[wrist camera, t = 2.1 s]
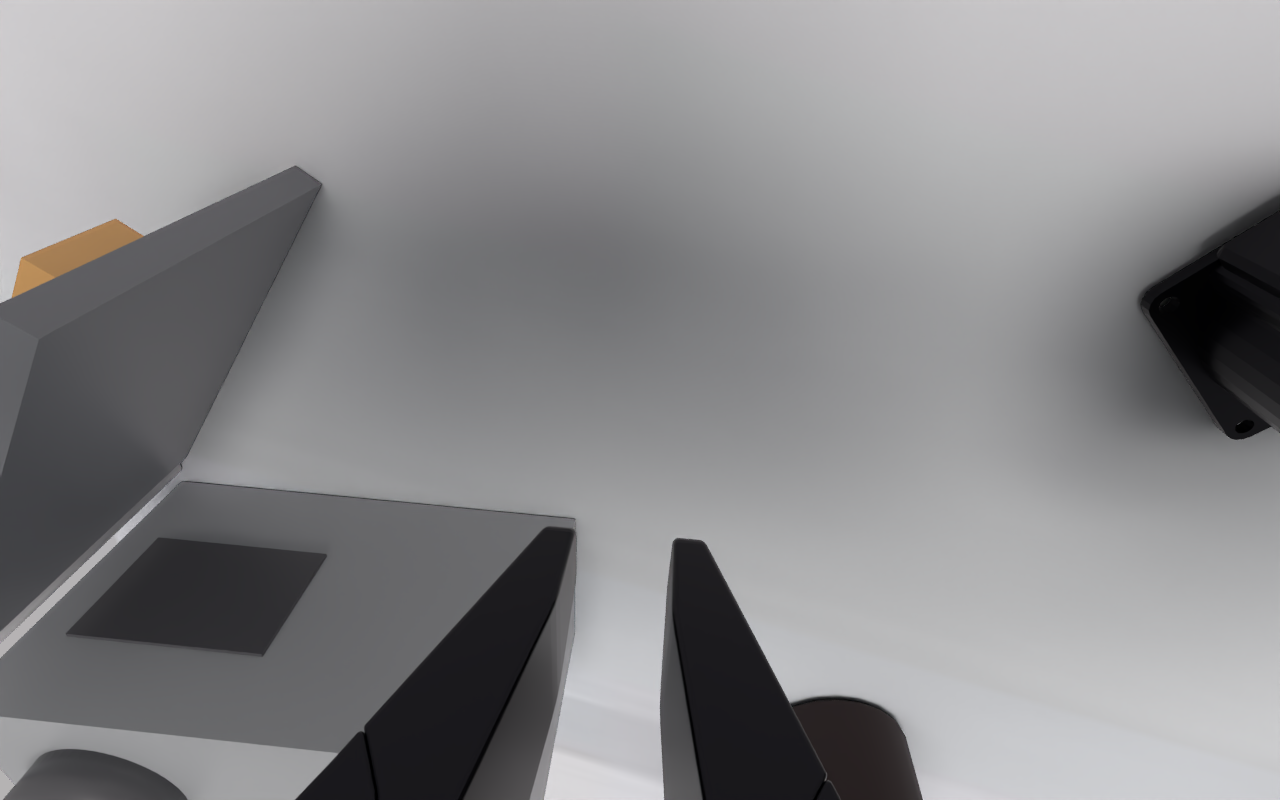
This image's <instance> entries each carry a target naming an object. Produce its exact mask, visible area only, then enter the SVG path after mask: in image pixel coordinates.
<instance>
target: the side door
mask: <svg viewBox="0 0 1280 800" xmlns="http://www.w3.org/2000/svg"><path fill="white" fill-rule="evenodd" d="M320 186H321V183H319V182H318V181H316V180H315V179H314V178H312V177H311V176H309V175H308V174H306V173H305V172H304V171H302V170H301V169H299V168H298V167H296V166H294V167H292V168H289V169H287V170H285V171H283V172H281V173H279V174H277V175H274V176H272V177H270V178H268V179H266V180H264V181H262V182H259V183H257V184H255V185H253V186H251V187H249V188H247V189H244V190H242V191H240V192H238V193H236V194H234V195H232V196H229V197H227V198H225V199H223V200H221V201H219V202H217V203H215V204H212V205H210V206H208V207H206V208H204V209H202V210H200V211H197V212H195V213H193V214H191V215H189V216H187V217H185V218H182V219H180V220H178V221H176V222H174V223H172V224H170V225H167V226H165V227H163V228H161V229H159V230H157V231H155V232H152V233H150V234H148V235H146V236H143V235H141V234H139V233H138V232H136V231H135V230H133V229H131V228H130V227H128V226H127V225H125V224H123V223H122V222H120V221H119V220H117V219H114V220H111V221H109V222H106V223H104V224H102V225H99V226H97V227H94V228H92V229H90V230H87V231H85V232H82V233H80V234H77V235H75V236H73V237H70V238H68V239H65V240H63V241H61V242H58V243H56V244H53V245H51V246H48V247H46V248H44V249H41V250H39V251H36V252H34V253H32V254H29V255H27V256H24V257H22V258H21V261H20V265H19V269H18V274H17V278H16V282H15V286H14V290H13V295H12V298H11V299H9V300H7V301H5V302H2V303H0V643H1V642H2V641H3V640H4V639H5V638H7V636H9V635H10V634H11V633H12V632H13V631H14V630H15V629H16V628H17V627H18V626H19V625H20V624H21V623H22V622H23V621H24V620H25V619H26V618H27V617H28V616H30V615H31V614H32V613H33V612H34V611H35V610H36V609H37V608H38V607H39V606H40V605H41V604H42V603H43V602H44V601H45V600H46V599H47V598H48V597H49V596H51V595H52V593H54V592H55V591H56V590H57V589H58V588H59V587H60V586H61V585H62V584H63V583H64V582H65V581H66V580H67V579H68V578H69V577H70V576H71V575H72V574H74V572H76V571H77V570H78V569H79V568H80V567H81V566H82V565H83V564H84V563H85V562H86V561H87V560H88V559H89V558H90V557H91V556H92V555H93V554H95V553H96V552H97V551H98V550H99V549H100V548H101V547H102V546H103V545H104V544H105V543H106V542H107V541H108V540H109V539H110V538H111V537H112V536H113V535H114V534H115V533H117V532H118V531H119V530H120V529H121V528H122V527H123V526H124V525H125V524H126V523H127V522H128V521H129V520H130V519H131V518H132V517H133V516H134V515H135V514H136V513H137V512H139V511H140V510H141V509H142V508H143V507H144V506H145V505H146V504H147V503H148V502H149V501H150V500H151V499H152V498H153V497H154V496H155V495H156V494H157V493H158V492H159V491H161V490H162V489H163V488H164V487H165V486H166V485H167V484H168V483H169V482H170V481H171V480H172V479H173V478H174V477H175V476H176V475H177V474H178V473H179V472H180V471H181V470H182V467H181V464H180V463H181V462H182V461H183V460H184V459H185V458H186V457H187V455H188V452H189V450H190V448H191V446H192V444H193V442H194V440H195V438H196V436H197V434H198V432H199V430H200V428H201V426H202V424H203V422H204V420H205V418H206V416H207V414H208V412H209V410H210V408H211V406H212V404H213V402H214V400H215V398H216V396H217V394H218V392H219V390H220V388H221V386H222V384H223V382H224V380H225V378H226V376H227V374H228V372H229V370H230V368H231V366H232V364H233V362H234V360H235V358H236V356H237V354H238V352H239V350H240V348H241V346H242V344H243V342H244V340H245V338H246V336H247V334H248V332H249V330H250V328H251V326H252V323H253V321H254V319H255V317H256V315H257V313H258V311H259V309H260V307H261V305H262V303H263V301H264V299H265V297H266V295H267V293H268V291H269V289H270V287H271V285H272V283H273V281H274V279H275V277H276V275H277V273H278V271H279V269H280V267H281V265H282V263H283V261H284V259H285V257H286V255H287V253H288V251H289V249H290V247H291V245H292V243H293V241H294V239H295V237H296V235H297V233H298V231H299V229H300V227H301V225H302V223H303V221H304V219H305V217H306V215H307V213H308V211H309V209H310V207H311V205H312V203H313V201H314V199H315V197H316V195H317V192H318V190H319V188H320Z"/></svg>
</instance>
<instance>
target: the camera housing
mask: <svg viewBox="0 0 1280 800" xmlns="http://www.w3.org/2000/svg"><path fill="white" fill-rule="evenodd" d="M547 526H557V527H567V528H573V529H574V530H575V519H569V518H559V517H548V516H538V515H527V514H517V513H506V512H496V511H486V510H475V509H465V508H454V507H444V506H434V505H423V504H413V503H402V502H392V501H382V500H371V499H361V498H350V497H340V496H329V495H319V494H309V493H298V492H288V491H277V490H267V489H257V488H246V487H236V486H225V485H215V484H205V483H194V482H184V481H181V482H180V483H179V484H178V485H177V486H176V487H175V488H174V489H173V490H172V491H171V492H170V493H169V494H168V495H167V496H166V497H165V498H164V499H163V500H162V501H161V502H160V503H159V504H158V505H157V506H156V507H155V508H154V509H153V510H152V511H151V512H150V513H149V514H148V515H147V516H146V517H145V518H144V519H143V520H141V521H140V522H139V523H138V524H137V525H136V526H135V527H134V528H133V529H132V530H131V531H130V532H129V533H128V534H127V535H126V536H125V537H124V538H123V539H122V540H121V541H120V542H119V543H118V544H117V545H116V546H115V547H114V548H113V549H112V550H111V551H110V552H109V553H108V554H107V555H106V556H105V557H104V558H103V559H102V560H101V561H99V563H98V564H96V565H95V566H94V567H93V568H92V569H91V570H90V571H89V572H88V573H87V574H86V575H85V576H84V577H83V578H82V579H81V580H80V581H79V582H78V583H77V584H76V585H75V586H74V587H73V588H72V589H71V590H70V591H69V592H68V593H67V594H66V595H65V596H64V597H63V598H62V599H61V600H60V601H58V602H57V603H56V604H55V606H53V607H52V608H51V609H50V610H49V611H48V612H47V613H46V614H45V615H44V616H43V617H42V618H41V619H40V620H39V621H38V622H37V623H36V624H35V625H34V626H33V627H32V628H31V629H30V630H29V631H28V632H27V633H26V634H25V635H24V636H23V637H22V638H21V639H20V640H19V641H18V642H16V643H15V645H13V646H12V647H11V648H10V649H9V650H8V651H7V652H6V653H5V654H4V655H3V656H2V657H1V658H0V769H1V771H3V773H4V774H5V775H6V776H7V777H8V778H9V779H10V780H11V781H12V782H13V784H14V785H15V786H14V787H13V788H12V790H11V791H10V792H9V793H8V795H7V796H6V797H5V798H4V799H3V800H295V799H296V798H297V797H298V796H299V795H300V794H301V793H302V792H303V791H304V790H305V788H306V787H307V786H308V785H309V784H310V783H311V782H312V781H313V780H314V779H315V778H316V777H317V776H318V775H319V774H320V773H321V772H322V771H323V770H324V769H325V768H326V766H327V765H328V764H329V763H330V762H331V761H332V760H333V759H334V758H335V757H336V756H337V755H338V753H339V752H340V751H341V750H342V749H343V748H344V747H345V746H346V745H347V743H348V742H349V741H350V740H351V739H352V738H353V737H354V736H355V735H356V733H357V732H359V731H363V732H364V726H365V724H366V723H367V722H368V721H369V720H370V719H371V717H372V716H373V715H374V714H375V713H376V712H377V711H378V710H379V709H380V708H381V706H382V705H383V704H384V703H385V702H386V701H387V700H388V699H389V698H390V697H391V695H392V694H393V693H394V692H395V691H396V690H397V689H398V688H399V687H400V686H401V684H402V683H403V682H404V681H405V680H406V679H407V678H408V677H409V676H410V675H411V673H412V672H413V671H414V670H415V669H416V668H417V667H418V666H419V665H420V663H421V662H422V661H423V660H424V659H425V658H426V657H427V656H428V655H429V654H430V652H431V651H432V650H433V649H434V648H435V647H436V646H437V645H438V644H439V643H440V641H441V640H442V639H443V638H444V637H445V636H446V635H447V634H448V633H449V632H450V630H451V629H452V628H453V627H454V626H455V625H456V624H457V623H458V622H459V621H460V619H461V618H462V617H463V616H464V615H465V614H466V613H467V612H468V611H469V609H470V608H471V607H472V606H473V605H474V604H475V603H476V602H477V601H478V600H479V598H480V597H481V596H482V595H483V594H484V593H485V592H486V591H487V590H488V589H489V587H490V586H491V585H492V584H493V583H494V582H495V581H496V580H497V579H498V578H499V576H500V575H501V574H502V573H503V572H504V571H505V570H506V569H507V568H508V567H509V565H510V564H511V563H512V562H513V561H514V560H515V559H516V558H517V557H518V556H519V554H520V553H521V552H522V551H523V550H524V549H525V548H526V547H527V546H528V544H529V543H530V542H531V541H532V540H533V539H534V538H535V537H536V536H537V535H538V533H539V532H540V531H541V530H542V529H543V528H545V527H547ZM574 635H575V590H574V597H573V603H572V610H571V616H570V623H569V629H568V636H567V642H566V649H565V655H564V662H563V668H562V675H561V681H560V686H559V691H558V697H557V701H556V705H555V709H554V713H553V717H552V720H551V724H550V727H549V731H548V735H547V738H546V742H545V746H544V749H543V753H542V756H541V760H540V764H539V767H538V771H537V774H536V778H535V782H534V785H533V789H532V793H531V796H530V800H544V796H545V790H546V785H547V780H548V774H549V769H550V763H551V758H552V753H553V747H554V742H555V737H556V731H557V726H558V721H559V715H560V710H561V705H562V699H563V694H564V689H565V683H566V678H567V673H568V667H569V662H570V657H571V651H572V646H573V641H574ZM364 733H365V732H364Z"/></svg>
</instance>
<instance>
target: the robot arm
mask: <svg viewBox="0 0 1280 800" xmlns="http://www.w3.org/2000/svg"><path fill="white" fill-rule="evenodd" d="M1169 297H1171V299H1170V301H1169V302H1168V303H1167V304H1166V305H1165V306H1162V307H1159V306H1160V304H1161V302H1162V301H1163V300H1165V299H1166V298H1169ZM1141 308H1142V311H1143V312H1144V314H1145V315H1146V317H1147V318H1148V320H1149V322H1150V323H1151V325H1152V326H1153V328H1154V329H1155V331H1156V332H1157V334H1158V336H1159V337H1160V339H1161V340H1162V342H1163V343H1164V345H1165V346H1166V348H1167V350H1168V351H1169V353H1170V354H1171V356H1172V357H1173V359H1174V360H1175V362H1176V363H1177V365H1178V367H1179V368H1180V370H1181V371H1182V373H1183V374H1184V376H1185V377H1186V379H1187V381H1188V382H1189V384H1190V385H1191V387H1192V388H1193V390H1194V391H1195V393H1196V395H1197V396H1198V398H1199V399H1200V401H1201V402H1202V404H1203V405H1204V407H1205V408H1206V410H1207V412H1208V413H1209V415H1210V416H1211V418H1212V419H1213V421H1214V422H1215V424H1216V426H1217V427H1218V428H1219V429H1220V430H1221V431H1222V432H1223V433H1225V434H1226V435H1227V436H1228V437H1229V438H1231V439H1235V440H1238V439H1245V438H1248V437H1251V436H1253V435H1255V434H1257V433H1259V432H1261V431H1263V430H1265V429H1267V428H1269V427H1271V426H1272V427H1273V428H1274V429H1276V430H1277V431H1278V432H1279V433H1280V211H1278V212H1276V213H1275V214H1273V215H1272V216H1270V217H1268V218H1267V219H1265V220H1263V221H1262V222H1260V223H1258V224H1257V225H1255V226H1253V227H1252V228H1250V229H1248V230H1247V231H1245V232H1243V233H1242V234H1240V235H1238V236H1237V237H1235V238H1234V239H1232V240H1230V241H1229V242H1227V243H1225V244H1224V245H1222V246H1220V247H1219V248H1217V249H1215V250H1214V251H1212V252H1210V253H1209V254H1207V255H1205V256H1204V257H1202V258H1200V259H1199V260H1197V261H1196V262H1194V263H1192V264H1191V265H1189V266H1187V267H1186V268H1184V269H1182V270H1181V271H1179V272H1177V273H1176V274H1174V275H1172V276H1171V277H1169V278H1167V279H1166V280H1164V281H1162V282H1161V283H1159V284H1158V285H1156V286H1154V287H1153V288H1151V289H1150V290H1149V291H1148V292H1146V294H1145V295H1144V297H1143V298H1142V302H1141ZM1241 421H1243V422H1241ZM1240 422H1241V423H1240ZM1238 423H1240V424H1238ZM1237 424H1238V425H1237ZM576 552H577V536H576V531H575V530H574V529H573V528H567V527H557V526H547V527H545V528H543V529H542V530H541V531H540V532H539V533H538V535H537V536H536V537H535V538H534V539H533V540H532V541H531V542H530V543H529V544H528V546H527V547H526V548H525V549H524V550H523V551H522V552H521V553H520V554H519V556H518V557H517V558H516V559H515V560H514V561H513V562H512V563H511V564H510V565H509V567H508V568H507V569H506V570H505V571H504V572H503V573H502V574H501V575H500V576H499V578H498V579H497V580H496V581H495V582H494V583H493V584H492V585H491V586H490V587H489V589H488V590H487V591H486V592H485V593H484V594H483V595H482V596H481V597H480V598H479V600H478V601H477V602H476V603H475V604H474V605H473V606H472V607H471V608H470V609H469V611H468V612H467V613H466V614H465V615H464V616H463V617H462V618H461V619H460V621H459V622H458V623H457V624H456V625H455V626H454V627H453V628H452V629H451V630H450V632H449V633H448V634H447V635H446V636H445V637H444V638H443V639H442V640H441V641H440V643H439V644H438V645H437V646H436V647H435V648H434V649H433V650H432V651H431V652H430V654H429V655H428V656H427V657H426V658H425V659H424V660H423V661H422V662H421V663H420V665H419V666H418V667H417V668H416V669H415V670H414V671H413V672H412V673H411V675H410V676H409V677H408V678H407V679H406V680H405V681H404V682H403V683H402V684H401V686H400V687H399V688H398V689H397V690H396V691H395V692H394V693H393V694H392V695H391V697H390V698H389V699H388V700H387V701H386V702H385V703H384V704H383V705H382V706H381V708H380V709H379V710H378V711H377V712H376V713H375V714H374V715H373V716H372V717H371V719H370V720H369V721H368V722H367V723H366V724H365V726H364V732H365V733H364V732H363V731H359V732H357V733H356V735H355V736H354V737H353V738H352V739H351V740H350V741H349V742H348V743H347V745H346V746H345V747H344V748H343V749H342V750H341V751H340V752H339V753H338V755H337V756H336V757H335V758H334V759H333V760H332V761H331V762H330V763H329V764H328V765H327V766H326V768H325V769H324V770H323V771H322V772H321V773H320V774H319V775H318V776H317V777H316V778H315V779H314V780H313V781H312V782H311V783H310V784H309V785H308V786H307V787H306V788H305V790H304V791H303V792H302V793H301V794H300V795H299V796H298V797H297V798H296V799H295V800H530V796H531V793H532V789H533V785H534V782H535V778H536V774H537V771H538V767H539V764H540V760H541V756H542V753H543V749H544V746H545V742H546V738H547V735H548V731H549V727H550V724H551V720H552V717H553V713H554V709H555V705H556V701H557V697H558V691H559V686H560V681H561V675H562V668H563V662H564V655H565V649H566V642H567V636H568V629H569V623H570V616H571V610H572V603H573V597H574V590H575V583H576ZM660 725H661V744H662V763H663V782H664V800H841V799H840V797H839V795H838V793H837V791H836V789H835V787H834V786H833V784H832V782H831V781H829V780H827V781H826V778H827V773H826V771H825V769H824V767H823V765H822V763H821V762H820V760H819V758H818V756H817V754H816V752H815V750H814V748H813V746H812V744H811V743H810V741H809V739H808V737H807V735H806V733H805V731H804V729H803V727H802V725H801V724H800V722H799V720H798V718H797V716H796V714H795V712H794V710H793V708H792V706H791V704H790V703H789V701H788V699H787V697H786V695H785V693H784V691H783V689H782V687H781V685H780V684H779V682H778V680H777V678H776V676H775V674H774V672H773V670H772V668H771V666H770V665H769V663H768V661H767V659H766V657H765V655H764V653H763V651H762V649H761V647H760V646H759V644H758V642H757V640H756V638H755V636H754V634H753V632H752V630H751V628H750V627H749V625H748V623H747V621H746V619H745V617H744V615H743V613H742V611H741V609H740V608H739V606H738V604H737V602H736V600H735V598H734V596H733V594H732V592H731V590H730V589H729V587H728V585H727V583H726V581H725V579H724V577H723V575H722V573H721V571H720V569H719V568H718V566H717V564H716V562H715V560H714V558H713V556H712V554H711V552H710V550H709V549H708V547H707V545H706V544H705V542H703V541H701V540H693V539H683V538H677V539H675V540H674V541H673V544H672V552H671V560H670V569H669V577H668V586H667V599H666V614H665V629H664V645H663V660H662V675H661V693H660Z"/></svg>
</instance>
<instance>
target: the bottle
mask: <svg viewBox="0 0 1280 800" xmlns="http://www.w3.org/2000/svg"><path fill="white" fill-rule="evenodd" d="M792 708H793V710H794V712H795V714H796V716H797V718H798V720H799V722H800V724H801V725H802V727H803V729H804V731H805V733H806V735H807V737H808V739H809V741H810V743H811V744H812V746H813V748H814V750H815V752H816V754H817V756H818V758H819V760H820V762H821V763H822V765H823V767H824V769H825V771H826V773H827V778H826V781H827V780H829V781H831V782H832V784H833V786H834V787H835V789H836V791H837V793H838V795H839V797H840V799H841V800H923V799H922V795H921V792H920V788H919V784H918V781H917V777H916V773H915V770H914V766H913V762H912V759H911V755H910V752H909V748H908V744H907V741H906V737H905V735H904V733H903V732H902V730H901V728H900V727H899V725H898V724H897V722H896V721H895V720H894V719H893V718H891V717H890V716H889V715H887V714H886V713H884V712H883V711H881V710H880V709H878V708H875V707H872V706H869V705H866V704H863V703H860V702H855V701H847V700H839V699H835V700H818V701H812V702H808V703H804V704H800V705H796V706H794V707H792Z"/></svg>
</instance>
